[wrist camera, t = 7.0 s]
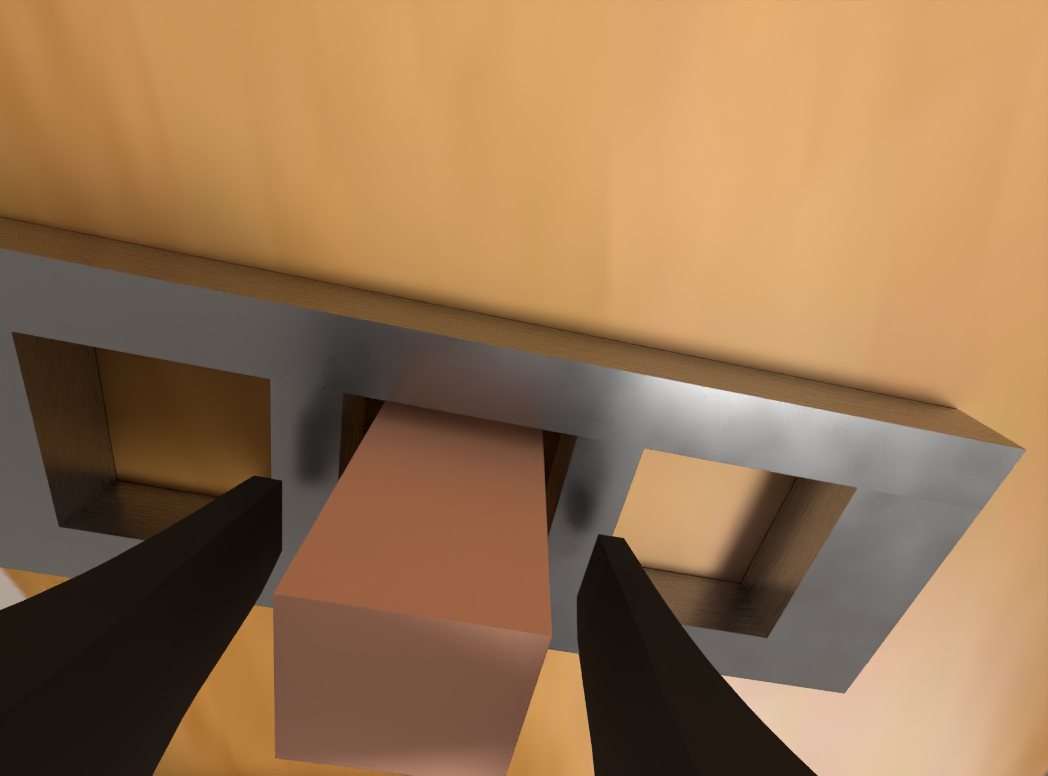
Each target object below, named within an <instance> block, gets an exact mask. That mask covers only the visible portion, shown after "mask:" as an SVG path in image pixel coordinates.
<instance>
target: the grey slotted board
mask: <svg viewBox="0 0 1048 776" xmlns="http://www.w3.org/2000/svg"><path fill="white" fill-rule="evenodd" d="M94 347H98V348H104V349H109V350H114V351H120V352H125V353H131V354H136V355H141V356H147V357H152V358H158V359H163V360H169V361H174V362H179V363H185V364H190V365H196V366H201V367H207V368H212V369H217V370H223V371H228V372H234V373H239V374H244V375H250V376H255V377H261V378H266V379H270V408H271V479H277V480H282V552H281V554H280V556H279V559H278V561H277V563H276V565H275V567H274V569H273V571H272V573H271V575H270V577H269V579H268V581H267V583H266V585H265V587H264V589H263V591H262V593H261V595H260V597H259V598H258V600H257V601H256V603H255V605H257V606H264V607H270V608H273V593H274V591H275V590H276V588H277V586H278V585H279V583H280V581H281V579H282V578H283V576H284V574H285V573H286V571H287V569H288V567H289V566H290V564H291V562H292V560H293V559H294V557H295V555H296V554H297V552H298V550H299V548H300V547H301V545H302V543H303V542H304V540H305V538H306V536H307V535H308V533H309V531H310V530H311V528H312V526H313V524H314V523H315V521H316V519H317V517H318V516H319V514H320V512H321V511H322V509H323V507H324V505H325V504H326V502H327V500H328V499H329V497H330V495H331V493H332V492H333V490H334V488H335V487H336V485H337V483H338V481H339V480H340V478H341V476H342V474H343V473H344V471H345V469H346V468H347V466H348V464H349V462H350V461H351V459H352V457H353V456H354V454H355V452H356V450H357V449H358V447H359V445H360V444H361V442H362V440H363V430H364V417H365V404H366V397H369V398H374V399H380V400H385V401H391V402H396V403H402V404H407V405H412V406H418V407H423V408H429V409H434V410H440V411H445V412H450V413H456V414H461V415H467V416H472V417H477V418H483V419H488V420H494V421H499V422H505V423H510V424H515V425H521V426H526V427H532V428H537V429H542V430H548V431H553V432H559V433H561V437H560V440H559V444H558V448H557V451H556V455H555V458H554V462H553V466H552V469H551V473H550V477H549V480H548V484H547V488H546V491H545V494H546V516H547V537H548V558H549V580H550V601H551V623H552V638H551V641H550V644H549V647H548V649H551V650H558V651H564V652H571V653H578V654H579V650H578V642H577V594H578V592H579V589H580V586H581V583H582V580H583V577H584V574H585V571H586V568H587V566H588V563H589V560H590V557H591V554H592V551H593V548H594V545H595V542H596V540H597V537H598V534H601V535H607V536H612V535H613V533H614V530H615V527H616V524H617V522H618V519H619V516H620V513H621V511H622V508H623V505H624V502H625V500H626V497H627V494H628V491H629V489H630V486H631V483H632V480H633V478H634V475H635V472H636V469H637V466H638V464H639V461H640V458H641V455H642V453H643V450H644V448H645V449H651V450H656V451H662V452H667V453H673V454H678V455H683V456H689V457H694V458H700V459H705V460H710V461H716V462H721V463H727V464H732V465H738V466H743V467H748V468H754V469H759V470H765V471H770V472H775V473H781V474H786V475H792V476H797V479H796V481H795V483H794V485H793V487H792V489H791V490H790V492H789V494H788V496H787V498H786V500H785V502H784V504H783V505H782V507H781V509H780V511H779V513H778V515H777V517H776V519H775V521H774V522H773V524H772V526H771V528H770V530H769V532H768V534H767V536H766V537H765V539H764V541H763V543H762V545H761V547H760V549H759V551H758V553H757V554H756V556H755V558H754V560H753V562H752V564H751V566H750V568H749V569H748V571H747V573H746V575H745V577H744V579H743V581H742V583H741V584H738V583H732V582H726V581H720V580H714V579H708V578H702V577H696V576H690V575H684V574H678V573H672V572H666V571H659V570H653V569H647V568H643V569H644V570H645V572H646V573H647V575H648V576H649V578H650V580H651V581H652V583H653V584H654V586H655V587H656V589H657V590H658V592H659V593H660V595H661V596H662V598H663V599H664V601H665V602H666V604H667V605H668V606H669V608H670V609H671V611H672V612H673V614H674V615H675V616H676V618H677V619H678V621H679V622H680V624H681V625H682V626H683V628H684V629H685V630H686V632H687V633H688V634H689V636H690V637H691V638H692V640H693V641H694V642H695V643H696V645H697V646H698V647H699V649H700V650H701V651H702V653H703V654H704V655H705V656H706V658H707V659H708V660H709V662H710V663H711V664H712V665H713V666H714V668H715V669H716V670H717V671H718V672H719V674H720V675H725V676H731V677H738V678H745V679H751V680H758V681H765V682H772V683H778V684H785V685H792V686H798V687H805V688H812V689H818V690H825V691H832V692H838V693H845V692H846V691H847V690H848V688H849V687H850V685H851V684H852V683H853V681H854V680H855V679H856V677H857V676H858V675H859V673H860V672H861V671H862V669H863V668H864V667H865V665H866V664H867V663H868V661H869V660H870V659H871V657H872V656H873V655H874V653H875V652H876V651H877V649H878V648H879V647H880V645H881V644H882V643H883V641H884V640H885V639H886V637H887V636H888V635H889V633H890V632H891V631H892V629H893V628H894V627H895V625H896V624H897V623H898V621H899V620H900V619H901V617H902V616H903V615H904V613H905V612H906V611H907V609H908V608H909V606H910V605H911V604H912V602H913V601H914V600H915V598H916V597H917V596H918V594H919V593H920V592H921V590H922V589H923V588H924V586H925V585H926V584H927V582H928V581H929V580H930V578H931V577H932V576H933V574H934V573H935V572H936V570H937V569H938V568H939V566H940V565H941V564H942V562H943V561H944V560H945V558H946V557H947V556H948V554H949V553H950V552H951V550H952V549H953V548H954V546H955V545H956V544H957V542H958V541H959V540H960V538H961V537H962V536H963V534H964V533H965V532H966V530H967V529H968V528H969V526H970V525H971V523H972V522H973V521H974V519H975V518H976V517H977V515H978V514H979V513H980V511H981V510H982V509H983V507H984V506H985V505H986V503H987V502H988V501H989V499H990V498H991V497H992V495H993V494H994V493H995V491H996V490H997V489H998V487H999V486H1000V485H1001V483H1002V482H1003V481H1004V479H1005V478H1006V477H1007V475H1008V474H1009V473H1010V471H1011V470H1012V469H1013V467H1014V466H1015V465H1016V463H1017V462H1018V461H1019V459H1020V458H1021V457H1022V455H1023V454H1024V453H1025V451H1026V449H1024V448H1022V447H1021V446H1019V445H1017V444H1016V443H1014V442H1012V441H1011V440H1009V439H1007V438H1006V437H1004V436H1002V435H1001V434H999V433H997V432H996V431H994V430H992V429H990V428H989V427H987V426H985V425H984V424H982V423H980V422H979V421H977V420H975V419H974V418H972V417H970V416H969V415H967V414H965V413H964V412H962V411H960V410H957V409H952V408H947V407H942V406H937V405H932V404H927V403H922V402H917V401H912V400H907V399H902V398H897V397H892V396H887V395H882V394H877V393H872V392H867V391H862V390H857V389H853V388H848V387H843V386H838V385H833V384H828V383H823V382H818V381H813V380H808V379H803V378H798V377H793V376H788V375H783V374H778V373H773V372H768V371H763V370H758V369H753V368H748V367H743V366H738V365H733V364H728V363H723V362H718V361H713V360H708V359H703V358H698V357H693V356H688V355H683V354H678V353H673V352H668V351H664V350H659V349H654V348H649V347H644V346H639V345H634V344H629V343H624V342H619V341H614V340H609V339H604V338H599V337H594V336H589V335H584V334H579V333H574V332H569V331H564V330H559V329H554V328H549V327H544V326H539V325H534V324H529V323H524V322H519V321H514V320H509V319H504V318H499V317H494V316H489V315H484V314H479V313H475V312H470V311H465V310H460V309H455V308H450V307H445V306H440V305H435V304H430V303H425V302H420V301H415V300H410V299H405V298H400V297H395V296H390V295H385V294H380V293H375V292H370V291H365V290H360V289H355V288H350V287H345V286H340V285H335V284H330V283H325V282H320V281H315V280H310V279H305V278H300V277H295V276H290V275H285V274H281V273H276V272H271V271H266V270H261V269H256V268H251V267H246V266H241V265H236V264H231V263H226V262H221V261H216V260H211V259H206V258H201V257H196V256H191V255H186V254H181V253H176V252H171V251H166V250H161V249H156V248H151V247H146V246H141V245H136V244H131V243H126V242H121V241H116V240H111V239H106V238H101V237H96V236H92V235H87V234H82V233H77V232H72V231H67V230H62V229H57V228H52V227H47V226H42V225H37V224H32V223H27V222H22V221H17V220H12V219H7V218H2V217H0V567H3V568H10V569H16V570H23V571H30V572H36V573H43V574H50V575H56V576H63V577H70V578H74V577H76V576H78V575H80V574H82V573H84V572H86V571H88V570H90V569H92V568H94V567H96V566H98V565H100V564H102V563H104V562H106V561H108V560H110V559H112V558H114V557H116V556H117V555H119V554H121V553H123V552H125V551H127V550H128V549H130V548H132V547H134V546H136V545H138V544H139V543H141V542H143V541H145V540H147V539H149V538H150V537H152V536H154V535H156V534H158V533H160V532H161V531H163V530H165V529H166V528H168V527H170V526H172V525H173V524H175V523H177V522H178V521H180V520H182V519H183V518H185V517H187V516H188V515H190V514H192V513H194V512H195V511H197V510H198V509H200V508H202V507H203V506H205V505H207V504H208V503H210V502H212V501H213V500H215V499H216V498H217V497H211V496H205V495H199V494H193V493H187V492H181V491H175V490H169V489H163V488H157V487H151V486H145V485H139V484H133V483H127V482H120V481H117V479H116V473H115V467H114V461H113V455H112V450H111V444H110V438H109V432H108V426H107V421H106V415H105V409H104V403H103V397H102V391H101V386H100V380H99V374H98V368H97V362H96V357H95V351H94Z"/></svg>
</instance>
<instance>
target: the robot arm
mask: <svg viewBox="0 0 1048 776" xmlns="http://www.w3.org/2000/svg"><path fill="white" fill-rule="evenodd" d="M281 552H282V480H277V479H271V478H265V477H259V476H253V477H251V478H249V479H248V480H246V481H244V482H243V483H241V484H239V485H238V486H236V487H234V488H233V489H231V490H230V491H228V492H226V493H225V494H223V495H221V496H220V497H218V498H216V499H215V500H213V501H212V502H210V503H208V504H207V505H205V506H203V507H202V508H200V509H198V510H197V511H195V512H194V513H192V514H190V515H188V516H187V517H185V518H183V519H182V520H180V521H178V522H177V523H175V524H173V525H172V526H170V527H168V528H166V529H165V530H163V531H161V532H160V533H158V534H156V535H154V536H152V537H150V538H149V539H147V540H145V541H143V542H141V543H139V544H138V545H136V546H134V547H132V548H130V549H128V550H127V551H125V552H123V553H121V554H119V555H117V556H116V557H114V558H112V559H110V560H108V561H106V562H104V563H102V564H100V565H98V566H96V567H94V568H92V569H90V570H88V571H86V572H84V573H82V574H80V575H78V576H76V577H74V578H72V579H70V580H68V581H65V582H63V583H61V584H59V585H57V586H55V587H52V588H50V589H48V590H46V591H44V592H42V593H40V594H37V595H35V596H33V597H31V598H28V599H26V600H24V601H21V602H19V603H16V604H14V605H12V606H9V607H7V608H4V609H2V610H0V776H152V775H153V773H154V771H155V769H156V767H157V765H158V763H159V762H160V760H161V758H162V756H163V754H164V752H165V750H166V748H167V746H168V745H169V743H170V741H171V739H172V737H173V735H174V733H175V731H176V730H177V728H178V726H179V724H180V722H181V720H182V718H183V717H184V715H185V713H186V712H187V710H188V708H189V706H190V705H191V703H192V701H193V700H194V698H195V696H196V695H197V693H198V692H199V690H200V688H201V687H202V685H203V684H204V682H205V681H206V679H207V678H208V676H209V675H210V673H211V671H212V670H213V668H214V667H215V665H216V664H217V662H218V661H219V659H220V658H221V656H222V654H223V653H224V651H225V650H226V648H227V647H228V645H229V644H230V642H231V641H232V639H233V637H234V636H235V634H236V633H237V631H238V630H239V628H240V627H241V625H242V623H243V622H244V620H245V619H246V617H247V616H248V614H249V612H250V611H251V609H252V608H253V606H254V605H255V603H256V601H257V600H258V598H259V597H260V595H261V593H262V591H263V589H264V587H265V585H266V583H267V581H268V579H269V577H270V575H271V573H272V571H273V569H274V567H275V565H276V563H277V561H278V559H279V556H280V554H281ZM577 642H578V650H579V657H580V665H581V672H582V680H583V687H584V694H585V701H586V709H587V716H588V723H589V730H590V737H591V744H592V753H593V763H594V774H595V776H817V775H816V774H815V773H814V772H813V771H812V770H811V769H810V768H809V767H808V766H807V765H806V764H805V763H804V762H803V761H802V760H801V759H800V758H798V757H797V756H796V755H795V754H794V753H793V752H792V751H791V750H790V749H789V748H788V747H787V746H786V745H785V744H784V743H783V742H782V741H781V740H780V739H779V738H778V737H777V736H776V735H775V734H774V733H773V732H772V731H771V730H770V729H769V728H768V727H767V726H766V725H765V724H764V723H763V722H762V720H761V719H760V718H759V717H758V716H757V715H756V714H755V713H754V712H753V711H752V710H751V709H750V708H749V707H748V706H747V704H746V703H745V702H744V701H743V700H742V699H741V698H740V696H739V695H738V694H737V693H736V692H735V691H734V690H733V689H732V687H731V686H730V685H729V684H728V683H727V682H726V681H725V679H724V678H723V677H722V676H721V675H720V674H719V672H718V671H717V670H716V669H715V668H714V666H713V665H712V664H711V663H710V662H709V660H708V659H707V658H706V656H705V655H704V654H703V653H702V651H701V650H700V649H699V647H698V646H697V645H696V643H695V642H694V641H693V640H692V638H691V637H690V636H689V634H688V633H687V632H686V630H685V629H684V628H683V626H682V625H681V624H680V622H679V621H678V619H677V618H676V616H675V615H674V614H673V612H672V611H671V609H670V608H669V606H668V605H667V604H666V602H665V601H664V599H663V598H662V596H661V595H660V593H659V592H658V590H657V589H656V587H655V586H654V584H653V583H652V581H651V580H650V578H649V576H648V575H647V573H646V572H645V570H644V569H643V567H642V566H641V564H640V562H639V561H638V559H637V558H636V556H635V555H634V553H633V552H632V550H631V548H630V547H629V545H628V544H627V542H626V541H625V539H624V538H619V537H613V536H607V535H601V534H598V537H597V540H596V542H595V545H594V548H593V551H592V554H591V557H590V560H589V563H588V566H587V568H586V571H585V574H584V577H583V580H582V583H581V586H580V589H579V592H578V594H577Z"/></svg>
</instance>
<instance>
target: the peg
mask: <svg viewBox="0 0 1048 776" xmlns="http://www.w3.org/2000/svg"><path fill="white" fill-rule="evenodd" d="M273 621H274V695H275V758H279V759H286V760H294V761H302V762H310V763H318V764H326V765H334V766H342V767H349V768H357V769H365V770H373V771H381V772H389V773H397V774H405V775H412V776H506V773H507V770H508V767H509V764H510V761H511V758H512V755H513V752H514V749H515V746H516V743H517V740H518V737H519V734H520V731H521V728H522V725H523V722H524V719H525V716H526V713H527V710H528V707H529V704H530V701H531V698H532V695H533V692H534V689H535V686H536V683H537V680H538V677H539V674H540V671H541V668H542V665H543V662H544V659H545V656H546V653H547V650H548V647H549V644H550V641H551V638H552V623H551V601H550V580H549V558H548V537H547V516H546V494H545V473H544V451H543V430H542V429H537V428H532V427H526V426H521V425H515V424H510V423H505V422H499V421H494V420H488V419H483V418H477V417H472V416H467V415H461V414H456V413H450V412H445V411H440V410H434V409H429V408H423V407H418V406H412V405H407V404H402V403H396V402H391V401H385V402H384V404H383V406H382V407H381V409H380V411H379V413H378V414H377V416H376V418H375V419H374V421H373V423H372V425H371V426H370V428H369V430H368V432H367V433H366V435H365V437H364V438H363V440H362V442H361V444H360V445H359V447H358V449H357V450H356V452H355V454H354V456H353V457H352V459H351V461H350V462H349V464H348V466H347V468H346V469H345V471H344V473H343V474H342V476H341V478H340V480H339V481H338V483H337V485H336V487H335V488H334V490H333V492H332V493H331V495H330V497H329V499H328V500H327V502H326V504H325V505H324V507H323V509H322V511H321V512H320V514H319V516H318V517H317V519H316V521H315V523H314V524H313V526H312V528H311V530H310V531H309V533H308V535H307V536H306V538H305V540H304V542H303V543H302V545H301V547H300V548H299V550H298V552H297V554H296V555H295V557H294V559H293V560H292V562H291V564H290V566H289V567H288V569H287V571H286V573H285V574H284V576H283V578H282V579H281V581H280V583H279V585H278V586H277V588H276V590H275V591H274V593H273Z"/></svg>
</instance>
